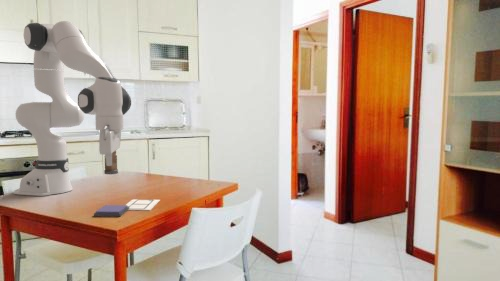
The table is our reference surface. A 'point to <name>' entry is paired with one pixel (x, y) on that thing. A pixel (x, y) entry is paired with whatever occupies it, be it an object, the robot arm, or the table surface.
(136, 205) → the sheet
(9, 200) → the table surface
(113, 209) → the inkpad
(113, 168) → the stamp
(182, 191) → the table surface
